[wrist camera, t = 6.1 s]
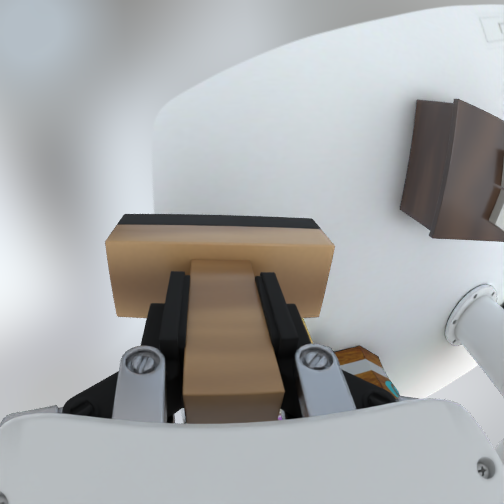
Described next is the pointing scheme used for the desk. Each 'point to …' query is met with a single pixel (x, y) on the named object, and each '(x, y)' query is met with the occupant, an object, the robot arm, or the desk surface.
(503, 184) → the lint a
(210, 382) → the brush
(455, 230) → the cabinet
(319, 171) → the desk surface
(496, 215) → the white square tile
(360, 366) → the mug
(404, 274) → the desk surface
